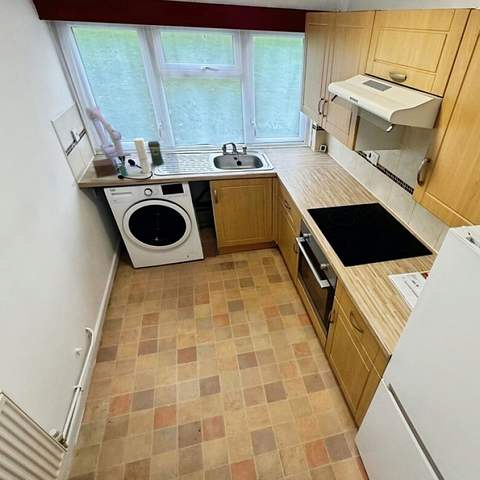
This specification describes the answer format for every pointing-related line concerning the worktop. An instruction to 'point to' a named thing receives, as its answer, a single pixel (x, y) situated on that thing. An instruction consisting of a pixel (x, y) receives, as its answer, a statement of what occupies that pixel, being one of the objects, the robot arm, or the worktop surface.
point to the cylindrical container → (142, 155)
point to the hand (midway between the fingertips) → (124, 165)
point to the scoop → (122, 170)
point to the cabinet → (104, 167)
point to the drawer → (117, 166)
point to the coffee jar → (155, 152)
